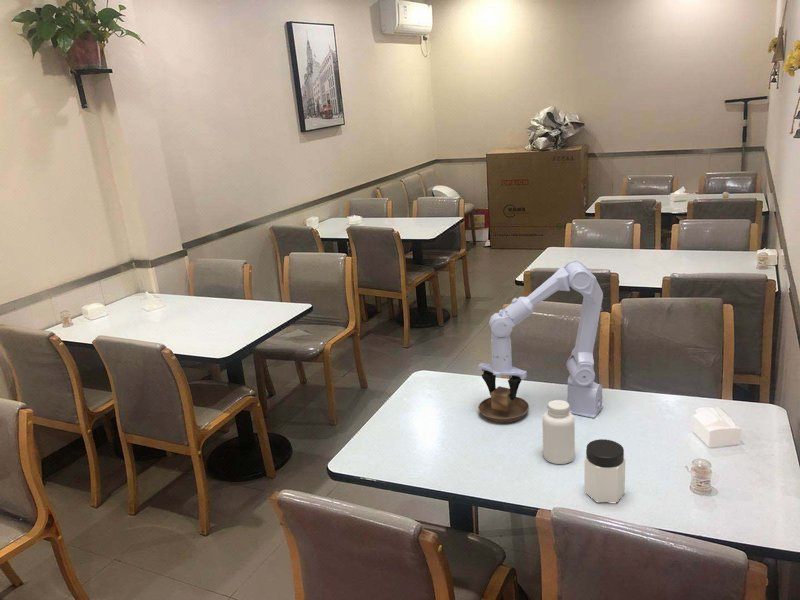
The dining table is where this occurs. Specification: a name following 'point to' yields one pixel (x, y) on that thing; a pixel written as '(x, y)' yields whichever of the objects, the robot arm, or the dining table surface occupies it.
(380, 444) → the dining table surface
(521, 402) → the saucer
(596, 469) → the jar
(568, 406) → the pill bottle
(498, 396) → the cube
